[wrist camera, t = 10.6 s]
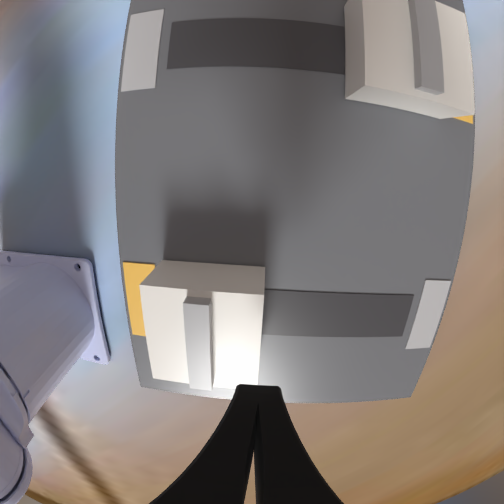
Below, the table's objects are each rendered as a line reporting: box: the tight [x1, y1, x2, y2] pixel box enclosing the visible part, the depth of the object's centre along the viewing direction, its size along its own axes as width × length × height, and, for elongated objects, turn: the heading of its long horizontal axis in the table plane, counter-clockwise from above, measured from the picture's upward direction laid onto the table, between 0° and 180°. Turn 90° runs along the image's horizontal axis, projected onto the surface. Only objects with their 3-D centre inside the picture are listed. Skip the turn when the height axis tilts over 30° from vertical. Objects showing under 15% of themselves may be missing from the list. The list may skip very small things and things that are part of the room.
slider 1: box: [139, 260, 265, 391], centre depth 14 cm, size 5×5×4 cm
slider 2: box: [344, 0, 475, 119], centre depth 9 cm, size 5×5×4 cm
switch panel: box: [115, 0, 475, 403], centre depth 14 cm, size 18×26×2 cm
